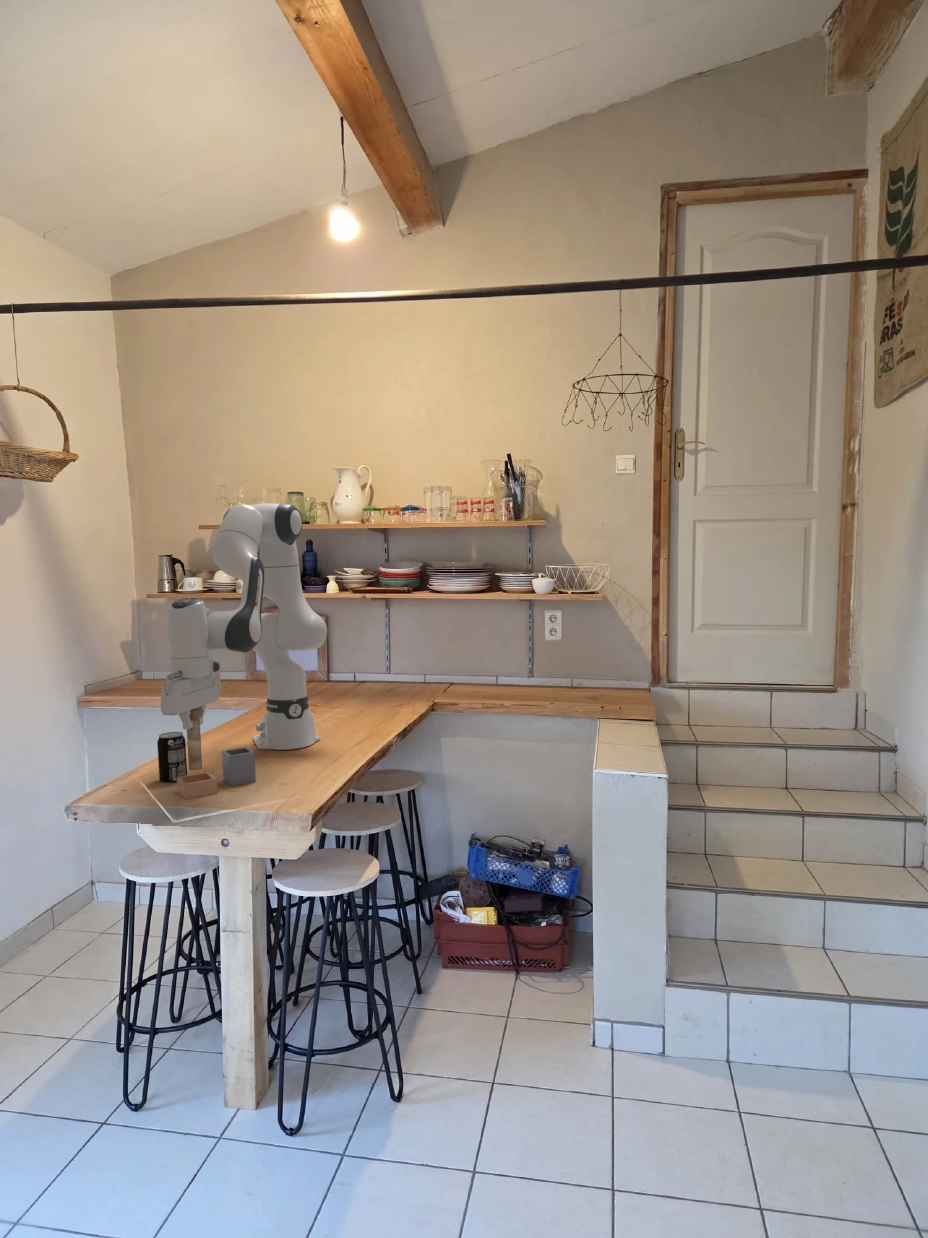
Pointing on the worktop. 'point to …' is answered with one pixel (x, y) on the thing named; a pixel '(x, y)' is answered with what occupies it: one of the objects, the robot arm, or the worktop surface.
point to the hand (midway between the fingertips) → (193, 726)
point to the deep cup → (238, 766)
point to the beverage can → (171, 756)
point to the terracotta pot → (196, 785)
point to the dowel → (194, 742)
